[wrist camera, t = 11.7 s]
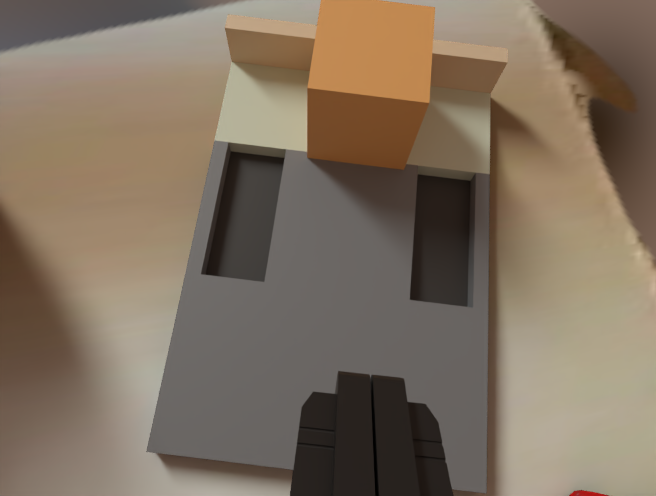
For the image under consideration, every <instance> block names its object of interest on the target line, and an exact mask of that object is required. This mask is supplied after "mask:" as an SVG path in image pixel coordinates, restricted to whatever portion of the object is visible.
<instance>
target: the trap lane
mask: <svg viewBox="0 0 656 496" xmlns="http://www.w3.org/2000/svg"><path fill="white" fill-rule="evenodd" d="M316 29H317V25H310V24H302V23H294V22H286V21H278V20H270V19H261V18H253V17H245V16H237V15H229V14H228V17H227V21H226V25H225V30H226V35H227V40H228V45H229V50H230V55H231V60H232V63H231V68H230V72H229V77H228V81H227V86H226V91H225V95H224V100H223V104H222V109H221V113H220V118H219V123H218V127H217V132H216V136H215V141H214V145H213V150H212V155H211V159H210V164H209V168H208V173H207V177H206V182H205V187H204V191H203V196H202V200H201V205H200V209H199V214H198V219H197V223H196V228H195V232H194V237H193V241H192V246H191V250H190V255H189V260H188V264H187V269H186V273H185V278H184V282H183V287H182V292H181V296H180V301H179V305H178V310H177V314H176V319H175V324H174V328H173V333H172V337H171V342H170V346H169V351H168V356H167V360H166V365H165V369H164V374H163V378H162V383H161V388H160V392H159V397H158V401H157V406H156V410H155V415H154V419H153V424H152V429H151V433H150V438H149V442H148V447H147V451H146V452H153V453H161V454H169V455H177V456H185V457H193V458H201V459H210V460H218V461H226V462H234V463H242V464H250V465H258V466H267V467H275V468H283V469H291V470H293V469H294V461H295V454H296V446H297V438H298V431H299V423H300V416H301V408H302V406H303V404H304V403H305V402H306V400H307V399H308V398H309V396H310V395H311V394H312V392H313V391H314V392H323V393H332V394H335V388H336V381H337V374H338V371H344V372H353V373H362V374H369V375H370V378H371V375H372V374H373V375H382V376H391V377H400V378H404V381H405V387H406V395H407V402H414V403H423V404H426V405H427V407H428V408H429V409H430V411H431V412H432V414H433V415H434V417H435V418H436V419H437V421H438V423H439V428H440V433H441V438H442V446H443V448H444V453H445V458H446V460H445V462H446V463H447V467H448V472H449V477H450V482H451V487H452V489H454V490H462V491H470V492H478V493H487V394H488V294H489V195H490V95H491V91H492V90H493V88H494V86H495V84H496V82H497V81H498V79H499V77H500V75H501V73H502V72H503V70H504V68H505V66H506V64H507V63H508V49H506V48H498V47H490V46H482V45H473V44H465V43H457V42H449V41H441V40H433V50H432V66H431V83H430V100H429V105H428V108H427V110H426V113H425V116H424V118H423V121H422V124H421V126H420V129H419V131H418V134H417V137H416V139H415V142H414V145H413V147H412V150H411V152H410V155H409V158H408V160H407V163H406V166H405V168H404V170H401V169H393V168H385V167H377V166H369V165H361V164H353V163H345V162H337V161H329V160H321V159H313V158H307V87H308V81H309V74H310V68H311V61H312V55H313V49H314V42H315V36H316Z"/></svg>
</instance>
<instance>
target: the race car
mask: <svg viewBox="0 0 656 496" xmlns="http://www.w3.org/2000/svg"><path fill="white" fill-rule="evenodd" d="M569 496H608V495H604V494H599V493H595V492H589V491H583V490H578V491H574V492H573V493H572V494H570V495H569Z"/></svg>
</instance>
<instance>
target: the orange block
mask: <svg viewBox="0 0 656 496" xmlns="http://www.w3.org/2000/svg"><path fill="white" fill-rule="evenodd" d="M434 16H435V7H428V6H420V5H412V4H404V3H396V2H388V1H380V0H321V4H320V10H319V17H318V23H317V29H316V36H315V42H314V49H313V55H312V61H311V68H310V74H309V81H308V87H307V158H313V159H321V160H329V161H337V162H345V163H353V164H361V165H369V166H377V167H385V168H393V169H401V170H404V168H405V166H406V163H407V160H408V158H409V155H410V152H411V150H412V147H413V145H414V142H415V139H416V137H417V134H418V131H419V129H420V126H421V124H422V121H423V118H424V116H425V113H426V110H427V108H428V105H429V100H430V83H431V66H432V50H433V33H434Z"/></svg>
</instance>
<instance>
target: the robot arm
mask: <svg viewBox="0 0 656 496" xmlns="http://www.w3.org/2000/svg"><path fill="white" fill-rule="evenodd" d="M445 460H446V458H445V453H444V448H443V446H442V438H441V433H440V428H439V423H438V421H437V419H436V418H435V417H434V415H433V414H432V412H431V411H430V409H429V408H428V407H427V405H426V404H423V403H414V402H407V395H406V387H405V381H404V378H400V377H391V376H382V375H373V374H372V375H371V378H370V375H369V374H362V373H353V372H344V371H338V374H337V381H336V388H335V394H332V393H323V392H314V391H313V392H312V394H311V395H310V396H309V398H308V399H307V400H306V402H305V403H304V404H303V406H302V408H301V416H300V423H299V431H298V438H297V446H296V454H295V461H294V469H293V476H292V484H291V491H290V496H453V492H452V487H451V482H450V477H449V472H448V467H447V463H446V462H445Z"/></svg>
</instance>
